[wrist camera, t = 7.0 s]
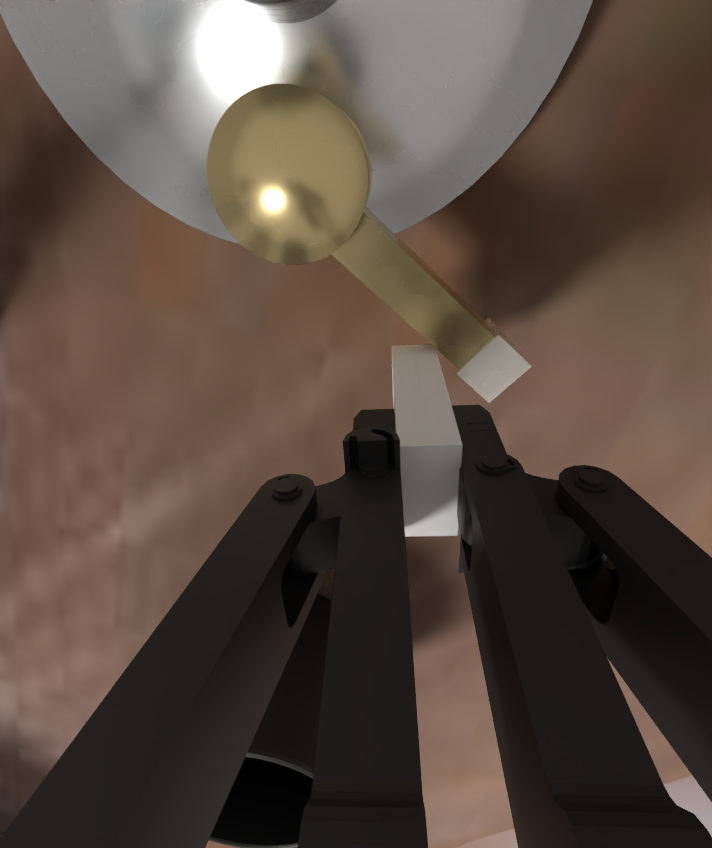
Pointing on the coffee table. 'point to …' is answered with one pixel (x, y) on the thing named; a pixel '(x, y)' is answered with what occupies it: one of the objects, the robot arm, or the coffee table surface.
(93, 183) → the coffee table surface
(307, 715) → the mug
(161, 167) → the tribrach plate
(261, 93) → the knob
